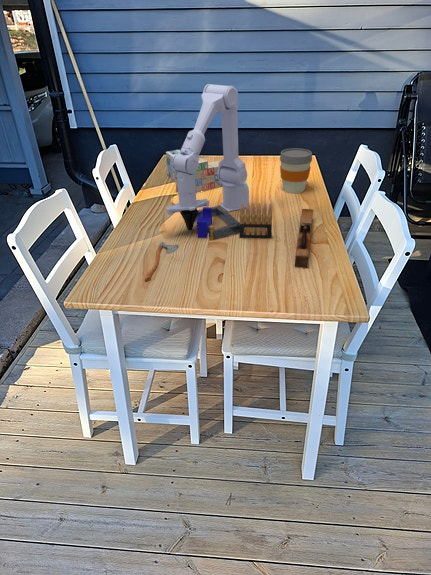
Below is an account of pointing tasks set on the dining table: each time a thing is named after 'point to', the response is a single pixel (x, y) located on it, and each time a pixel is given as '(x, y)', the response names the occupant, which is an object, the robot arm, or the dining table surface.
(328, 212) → the dining table surface
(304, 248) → the hand plane
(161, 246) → the axe
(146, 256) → the dining table surface
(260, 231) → the ammunition clip
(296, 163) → the reusable coffee cup
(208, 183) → the stack of blocks
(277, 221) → the dining table surface
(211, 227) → the keeper cradle
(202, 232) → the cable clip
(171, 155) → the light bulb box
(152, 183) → the dining table surface
